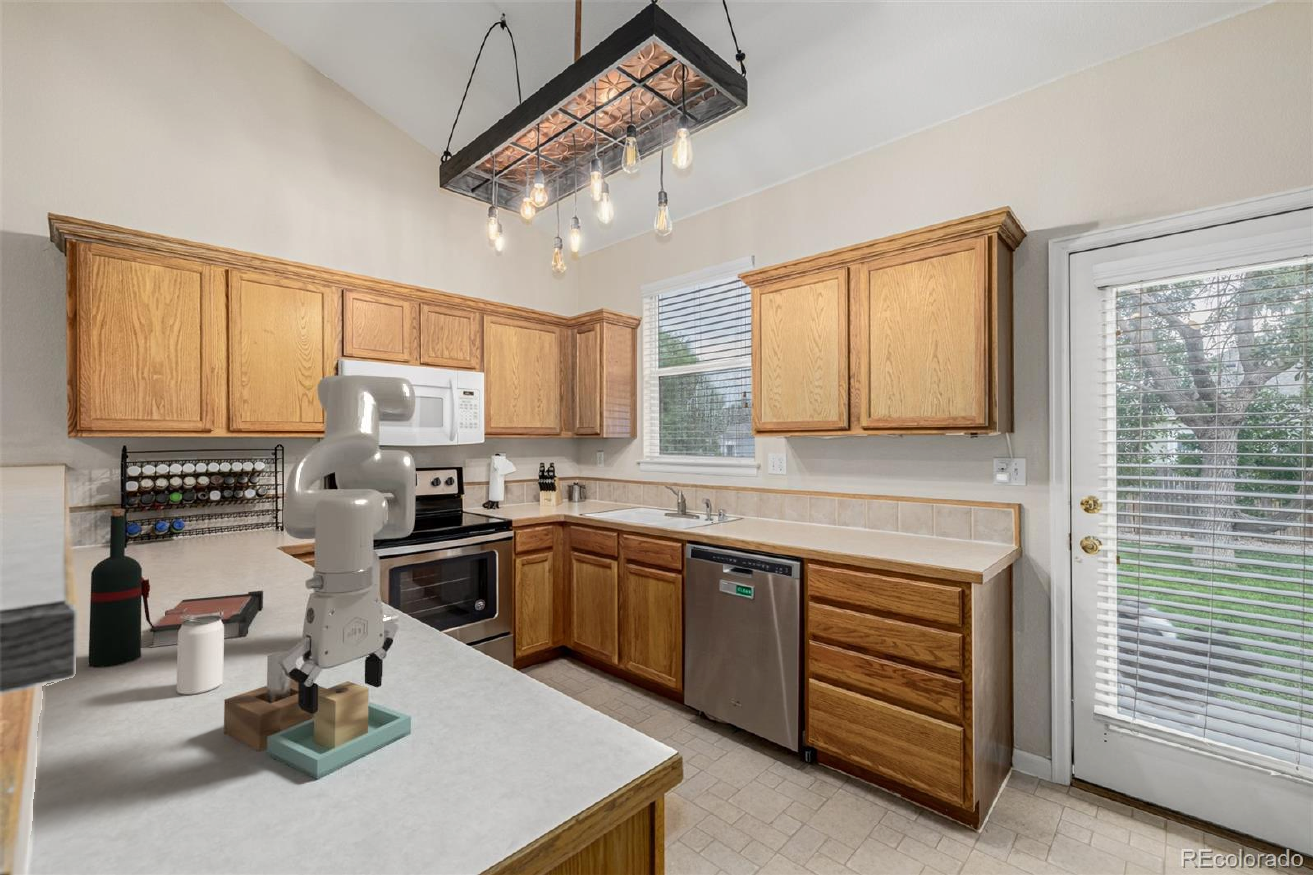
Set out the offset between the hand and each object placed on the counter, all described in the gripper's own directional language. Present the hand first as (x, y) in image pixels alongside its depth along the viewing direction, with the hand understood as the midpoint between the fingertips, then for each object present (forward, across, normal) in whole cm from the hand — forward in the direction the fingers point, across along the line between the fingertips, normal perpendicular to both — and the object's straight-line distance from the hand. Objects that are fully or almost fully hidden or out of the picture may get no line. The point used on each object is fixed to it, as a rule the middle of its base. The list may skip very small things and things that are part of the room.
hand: (342, 697), depth 84 cm
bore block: (+7, -2, +12) cm, 14 cm away
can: (+7, -1, +39) cm, 40 cm away
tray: (+6, 0, -1) cm, 6 cm away
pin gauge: (+6, -2, +12) cm, 14 cm away
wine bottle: (+8, -2, +69) cm, 70 cm away
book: (+9, +17, +79) cm, 81 cm away
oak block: (+6, 0, 0) cm, 6 cm away
